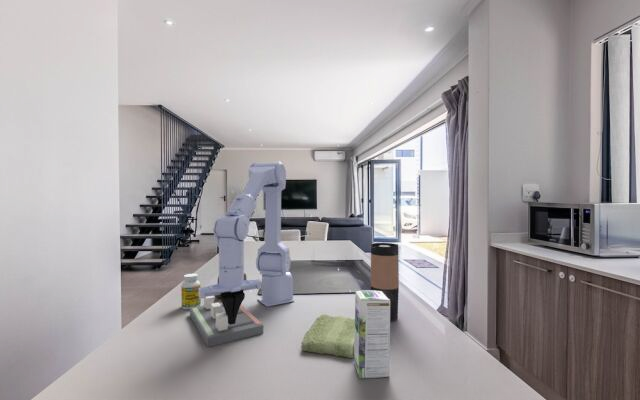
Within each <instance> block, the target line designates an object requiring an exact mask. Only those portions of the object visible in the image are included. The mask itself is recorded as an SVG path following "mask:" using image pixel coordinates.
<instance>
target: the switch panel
mask: <svg viewBox="0 0 640 400" xmlns="http://www.w3.org/2000/svg"><path fill="white" fill-rule="evenodd" d="M219 303H220V304H221V306H222V313H225V314H226V312H225V309H224V306H223V304H222V301H221V302H219ZM189 316H190V318H191V319H192V322H193V323H194V325H195V327H196V329H197V330H198V332H199V334H200V336H201V338H202V340H203V341H204V343H205V345H206V347H207V348H211V347H213V346H219V345H221V344H225V343H230V342H234V341H238V340H243V339H246V338H249V337H250V338H251V337H253V336H258V335H262V334H264V324H263V323H262V322H261V321H260V320H259V319H257V318H256V317H255V316H254V315H253V314H252V313H251V312H250V311H248V310H247V308H245V306H243V305H242V304H241V305H240V308H239V310H238V314H237V317H236V322H235V324H231V325H230V324H229V323H228V329H227V330H222V331H218V329H217V328H216V319H213V318H212V316H211V309H206V308H205V307H204V304H203V305H200V306H198V307H192V308H190V309H189Z"/></svg>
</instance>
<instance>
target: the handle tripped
mask: <svg viewBox="0 0 640 400" xmlns="http://www.w3.org/2000/svg"><path fill="white" fill-rule="evenodd" d="M216 328H217V329H218V331H222V330H227V329H228V316H227V315H226V314H225V313H219V314H216Z"/></svg>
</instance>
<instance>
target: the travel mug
mask: <svg viewBox="0 0 640 400" xmlns="http://www.w3.org/2000/svg"><path fill="white" fill-rule="evenodd" d="M399 266H400V265H399V245H398V244H396V243H391V242H375V243H373V242H372V243H371V245H370V290H375V291H382V292H383V293H384V294H385V295H386V296H387V298H388V299H390V322H394V321H397V319H398V314H399V292H400V291H399V284H400V283H399V280H400V278H399V277H400V276H399V275H400V273H399V272H400V271H399V270H400V269H399Z"/></svg>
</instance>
